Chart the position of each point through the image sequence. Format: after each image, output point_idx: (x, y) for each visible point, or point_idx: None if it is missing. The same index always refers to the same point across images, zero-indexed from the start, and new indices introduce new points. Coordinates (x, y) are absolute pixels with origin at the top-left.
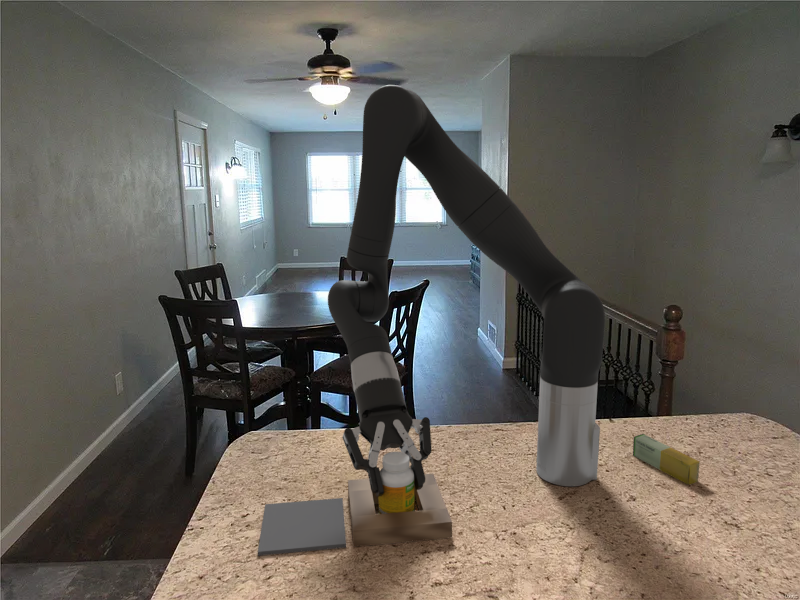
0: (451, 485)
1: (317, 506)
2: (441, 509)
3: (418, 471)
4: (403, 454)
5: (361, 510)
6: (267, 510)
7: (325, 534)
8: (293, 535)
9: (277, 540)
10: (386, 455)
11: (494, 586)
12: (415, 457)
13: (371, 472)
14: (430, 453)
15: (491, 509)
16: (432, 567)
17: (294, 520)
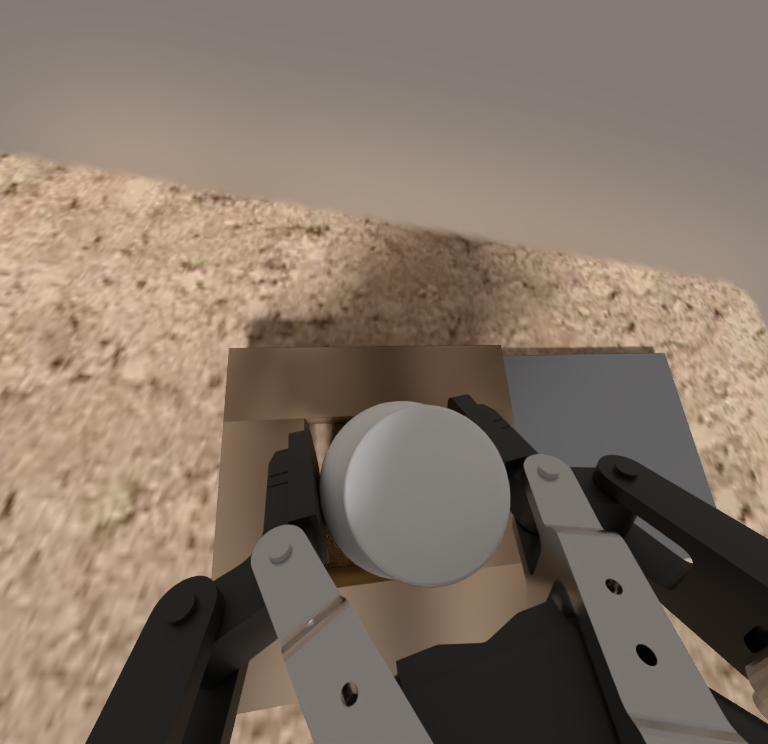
0: None
1: None
2: (243, 416)
3: (296, 472)
4: (379, 532)
5: None
6: None
7: (550, 396)
8: (616, 399)
9: (642, 385)
10: (490, 522)
11: (204, 205)
12: (296, 539)
13: (528, 449)
14: (173, 589)
15: (63, 495)
16: (316, 273)
17: None
